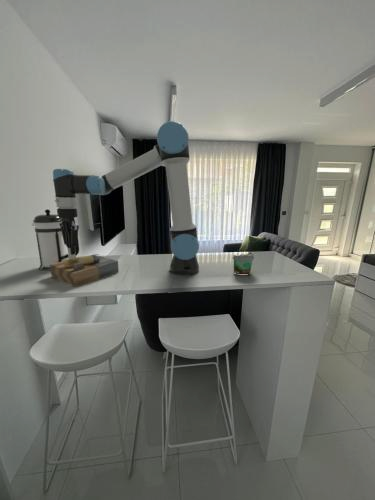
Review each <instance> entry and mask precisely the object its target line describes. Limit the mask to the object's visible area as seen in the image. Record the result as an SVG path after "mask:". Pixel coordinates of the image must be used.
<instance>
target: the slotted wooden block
mask: <svg viewBox="0 0 375 500" xmlns="http://www.w3.org/2000/svg"><path fill="white" fill-rule="evenodd" d="M91 255H92V254H91ZM91 255H89V256H91ZM99 256H100V255H99ZM49 269H50V273H51V277H52V278H54V279H56V280H59V281H60V282H63V283H65V284H68V285H70V286H72V287H79V286H82V285H85V284H88V283H92V282H94V280H95V281H97V279H98V280H100V278H101V279H103V277H104V278H106V277H105V276H107V277H109V275H110V276H113V275H116V274H119V272H120V271H119V261H118V260H116V259H111V258H108V257H104V256H100V262H98V263H89V264H84V263H83V262H80V263H76V264H73V266H72V267H65V266H64V261H63V262H58V263H54V264H50V267H49ZM112 274H113V275H112Z"/></svg>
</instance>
